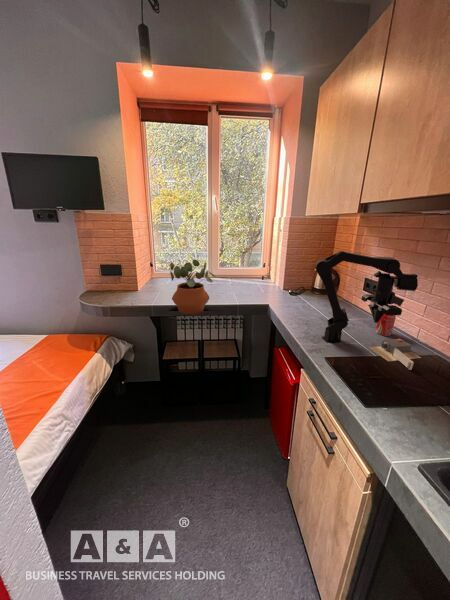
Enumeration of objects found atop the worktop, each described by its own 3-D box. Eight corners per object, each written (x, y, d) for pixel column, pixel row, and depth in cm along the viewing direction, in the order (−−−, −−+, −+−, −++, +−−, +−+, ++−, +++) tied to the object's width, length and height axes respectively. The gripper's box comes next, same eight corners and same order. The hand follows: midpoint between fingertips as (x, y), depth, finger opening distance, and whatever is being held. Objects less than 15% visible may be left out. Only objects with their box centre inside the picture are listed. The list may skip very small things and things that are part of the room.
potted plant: (168, 305, 154) (165, 257, 145) (209, 300, 166) (210, 255, 156) (177, 319, 135) (175, 265, 125) (223, 311, 146) (225, 262, 136)
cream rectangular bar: (390, 354, 103) (392, 347, 102) (393, 354, 103) (396, 347, 102) (407, 369, 93) (410, 362, 92) (411, 370, 93) (414, 362, 92)
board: (388, 362, 99) (388, 361, 99) (368, 348, 109) (368, 347, 109) (421, 359, 102) (421, 357, 102) (398, 345, 112) (398, 344, 112)
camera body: (390, 354, 104) (392, 345, 103) (379, 347, 109) (381, 339, 108) (409, 352, 106) (412, 344, 104) (398, 345, 111) (400, 337, 110)
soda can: (375, 329, 128) (381, 308, 124) (391, 333, 124) (397, 311, 120) (373, 334, 123) (378, 312, 119) (389, 338, 119) (396, 316, 115)
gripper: (420, 295, 93) (409, 332, 98) (388, 282, 111) (380, 314, 116) (391, 295, 93) (382, 332, 98) (364, 282, 110) (357, 314, 116)
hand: (375, 322), depth 107 cm, fingers closed
